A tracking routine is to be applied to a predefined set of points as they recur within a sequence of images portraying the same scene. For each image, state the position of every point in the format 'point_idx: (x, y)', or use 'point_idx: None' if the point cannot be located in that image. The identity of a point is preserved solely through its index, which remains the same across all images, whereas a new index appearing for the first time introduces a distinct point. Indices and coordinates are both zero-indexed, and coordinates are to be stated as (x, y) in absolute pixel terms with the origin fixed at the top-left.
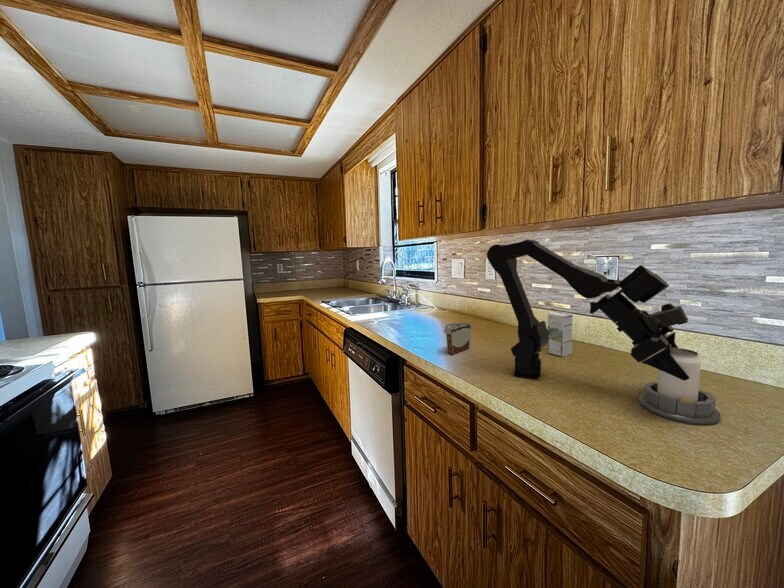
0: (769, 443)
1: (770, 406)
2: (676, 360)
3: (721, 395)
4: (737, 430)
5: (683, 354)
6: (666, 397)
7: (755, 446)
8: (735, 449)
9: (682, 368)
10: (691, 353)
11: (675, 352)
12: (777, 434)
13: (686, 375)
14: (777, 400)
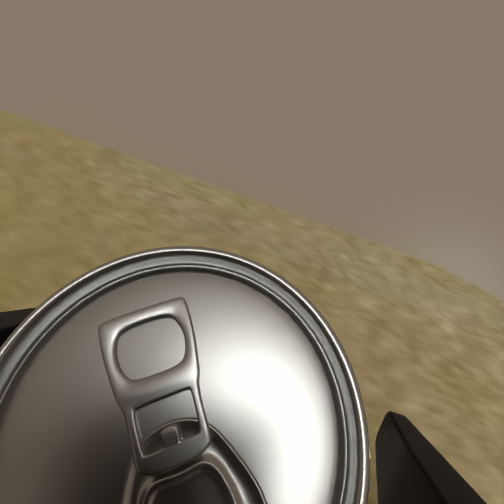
0: (366, 251)
1: (110, 159)
2: None
3: (41, 231)
4: (321, 290)
5: (241, 398)
6: None
7: (408, 287)
8: (465, 343)
9: (423, 466)
10: (188, 300)
11: (169, 483)
12: (297, 215)
13: (423, 437)
14: (64, 132)
